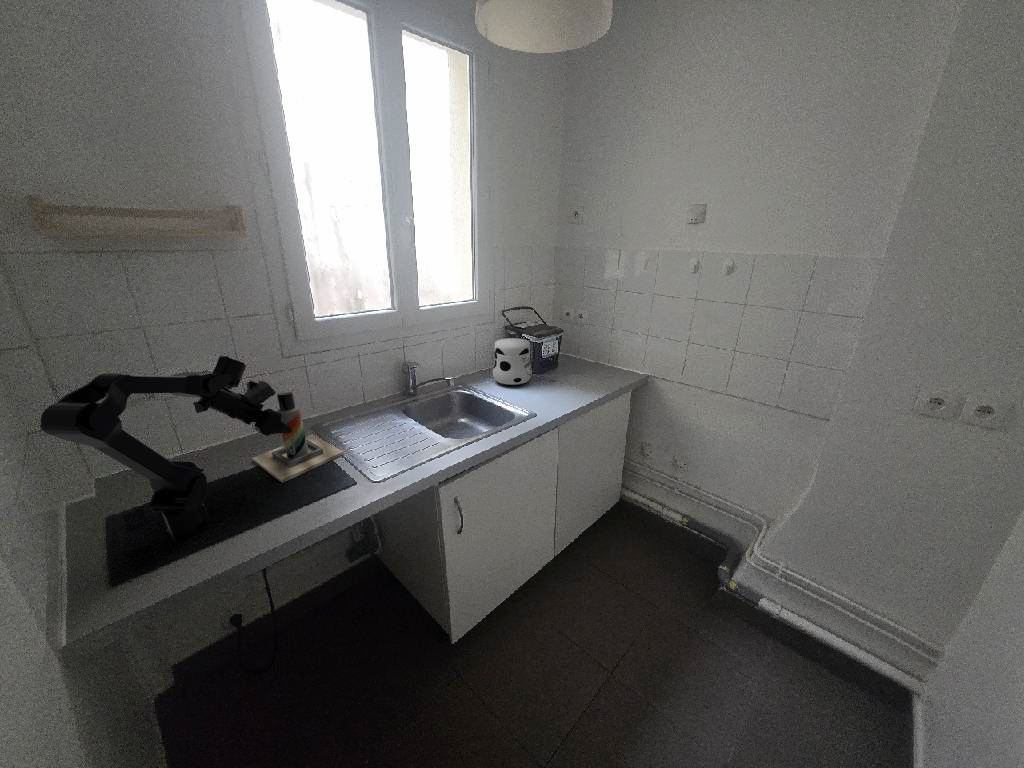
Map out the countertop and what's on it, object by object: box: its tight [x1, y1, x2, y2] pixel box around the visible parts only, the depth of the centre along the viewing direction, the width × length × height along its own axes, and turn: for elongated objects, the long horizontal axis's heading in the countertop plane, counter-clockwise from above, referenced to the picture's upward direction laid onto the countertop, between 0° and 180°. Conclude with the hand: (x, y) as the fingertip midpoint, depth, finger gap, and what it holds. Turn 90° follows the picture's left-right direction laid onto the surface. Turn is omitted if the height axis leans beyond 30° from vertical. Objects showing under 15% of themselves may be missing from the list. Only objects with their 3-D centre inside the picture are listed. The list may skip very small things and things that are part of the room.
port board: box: [251, 434, 345, 484], centre depth 118 cm, size 18×18×2 cm
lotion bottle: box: [276, 391, 308, 460], centre depth 114 cm, size 6×6×20 cm
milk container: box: [492, 337, 533, 387], centre depth 174 cm, size 17×17×18 cm
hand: (283, 426), depth 112 cm, fingers open, 9 cm apart
